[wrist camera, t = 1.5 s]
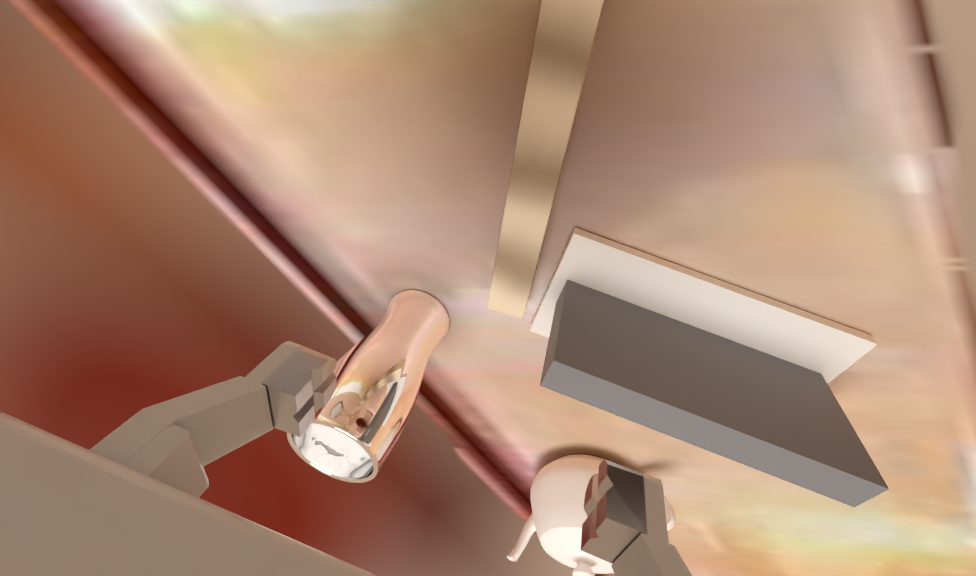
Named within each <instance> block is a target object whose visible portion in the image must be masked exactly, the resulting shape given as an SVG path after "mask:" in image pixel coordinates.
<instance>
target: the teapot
mask: <svg viewBox="0 0 976 576" xmlns="http://www.w3.org/2000/svg"><path fill="white" fill-rule="evenodd" d="M603 460H605V459H603V458H600V457H596V456H592V455H584V454H574V455H567V456H564V457H561V458H559V459H557V460H555V461H553V462H551V463H549V464H547V465H546V466H544V467H543V468H542V469H541V470H540V471H539V472H538V473H537V475H536V476H535V478H534V480H533V482H532V486H531V491H530V498H531V506H532V514H531V515H530V517H529V518H528V520H527V522H526V524H525V526H524V528H523V530H522V532H521V534H520V537H519V539H518V541H517V543H516V545H515V547H514V549H513V550H512V551H511V552H510V554H509V555H507V556H506V557H507V558H508V559H509V560H511V561H517V560H518V558H519V556H520V555H521V553H522V551H523V550H524V548H525V547H526V545H527V543H528V541H529V539H530V537H531V536H532V534H533V533H534V532H535V531H536V532H537V535H538V537H539V540H540V542H541V545H542V547H543V549H544V550H545V551H546V553H547V554H548V555H550V556H551V557H552V558H554V559H555V560H557V561H558V562H560V563H562V564H564V565H567V566H569V567H572V568H574V570H573V572H572V574H573V576H595V575H594V573H599V574H610V573H614V571H613V569H612V566H611V565H612V563H609V562H607V561H605V560H602V559H600V558H598V557H595V556H593V555H591V554H589V553H586V552H584V551H582V550H581V538H582V524H583V523H584V522H585V520H586V519H587V517H588V516H587V514H586V512H585V510H584V499H585V493H586V489H587V486H588V483H589V481H590V479H591V477H592V476H593V474H597V473H599V465H600V464H601V462H602V461H603ZM664 502H665V512H666V521H667V531H668V530H670V529H671V528H672V527H673V526H674V524H675V512H674V509H673V507H672V505H671V503H670V502H669V501H668V500H667V499H666V497H665V496H664Z"/></svg>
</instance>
